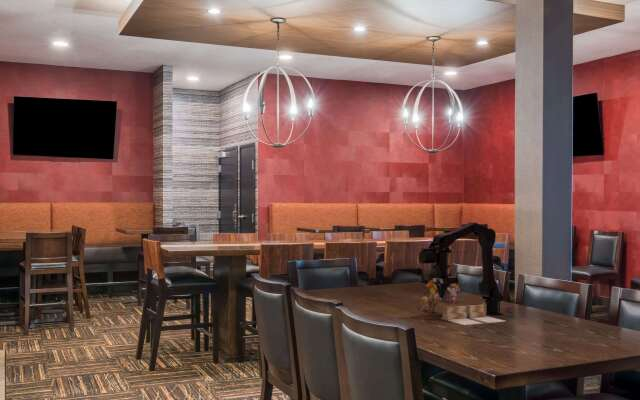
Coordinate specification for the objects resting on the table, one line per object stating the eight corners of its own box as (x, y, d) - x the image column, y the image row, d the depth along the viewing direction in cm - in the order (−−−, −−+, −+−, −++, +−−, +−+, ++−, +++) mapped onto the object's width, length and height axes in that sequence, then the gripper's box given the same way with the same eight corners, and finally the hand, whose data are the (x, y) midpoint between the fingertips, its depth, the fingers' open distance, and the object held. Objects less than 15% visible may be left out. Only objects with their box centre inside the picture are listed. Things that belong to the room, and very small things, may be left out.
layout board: (481, 315, 316) (481, 314, 316) (505, 321, 301) (505, 320, 301) (440, 318, 307) (440, 318, 307) (464, 325, 291) (464, 324, 291)
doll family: (461, 303, 351) (461, 277, 351) (447, 305, 345) (447, 279, 345) (432, 298, 368) (432, 273, 368) (418, 300, 363) (418, 275, 363)
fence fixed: (483, 316, 313) (483, 302, 313) (486, 317, 311) (486, 303, 311) (467, 318, 309) (467, 303, 309) (470, 318, 307) (470, 304, 307)
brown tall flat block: (467, 316, 309) (467, 304, 309) (469, 317, 307) (469, 305, 307) (442, 318, 304) (442, 306, 304) (445, 319, 302) (445, 307, 302)
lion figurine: (443, 313, 322) (443, 293, 322) (434, 314, 319) (434, 294, 319) (421, 308, 334) (421, 290, 334) (413, 309, 331) (413, 291, 331)
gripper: (414, 261, 314) (414, 296, 314) (438, 265, 297) (437, 301, 297) (435, 260, 318) (435, 294, 318) (459, 264, 301) (459, 300, 301)
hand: (441, 297), depth 309 cm, fingers closed
